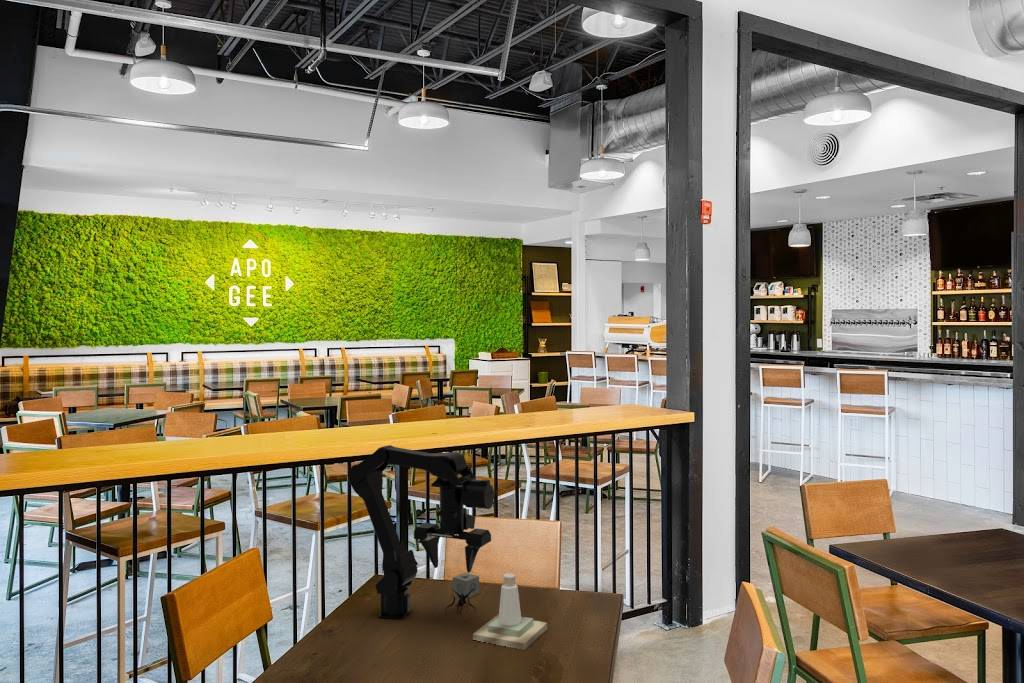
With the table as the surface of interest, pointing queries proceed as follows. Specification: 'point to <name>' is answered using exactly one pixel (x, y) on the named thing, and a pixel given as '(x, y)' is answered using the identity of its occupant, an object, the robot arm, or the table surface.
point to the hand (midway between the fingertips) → (452, 569)
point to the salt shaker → (509, 602)
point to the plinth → (509, 639)
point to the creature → (461, 601)
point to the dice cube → (466, 584)
